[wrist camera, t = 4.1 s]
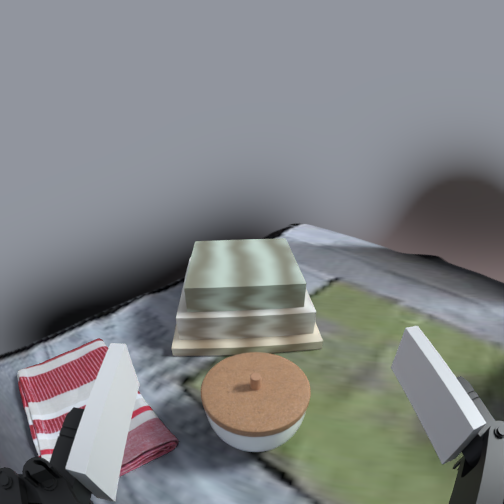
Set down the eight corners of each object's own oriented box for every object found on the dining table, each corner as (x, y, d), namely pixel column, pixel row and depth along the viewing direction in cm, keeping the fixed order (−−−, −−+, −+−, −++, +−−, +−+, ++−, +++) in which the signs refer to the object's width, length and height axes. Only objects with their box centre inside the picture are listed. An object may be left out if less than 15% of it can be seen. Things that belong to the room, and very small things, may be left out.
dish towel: (61, 504, 18) (49, 496, 16) (20, 378, 33) (13, 366, 32) (182, 447, 28) (178, 436, 27) (105, 343, 44) (101, 331, 43)
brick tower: (292, 273, 65) (294, 231, 61) (321, 348, 43) (330, 295, 39) (188, 277, 63) (184, 235, 59) (173, 355, 42) (162, 302, 38)
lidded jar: (208, 396, 35) (199, 343, 31) (292, 390, 36) (299, 336, 32) (210, 469, 25) (197, 425, 21) (311, 459, 26) (326, 413, 22)
